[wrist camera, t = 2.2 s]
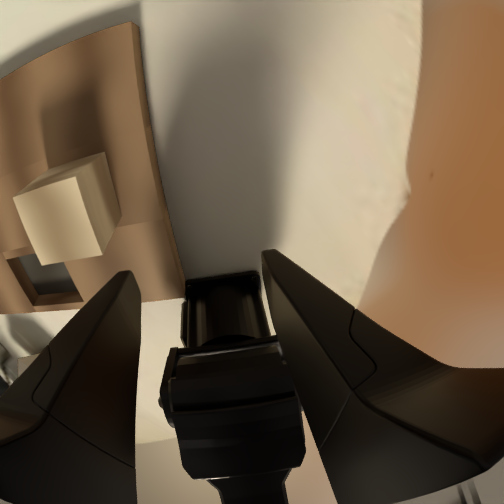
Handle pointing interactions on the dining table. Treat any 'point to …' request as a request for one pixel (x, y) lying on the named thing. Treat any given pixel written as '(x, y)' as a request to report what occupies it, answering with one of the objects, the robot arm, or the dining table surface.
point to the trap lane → (76, 147)
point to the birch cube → (70, 210)
